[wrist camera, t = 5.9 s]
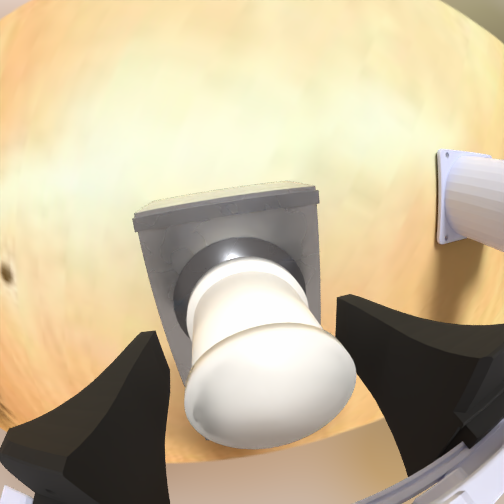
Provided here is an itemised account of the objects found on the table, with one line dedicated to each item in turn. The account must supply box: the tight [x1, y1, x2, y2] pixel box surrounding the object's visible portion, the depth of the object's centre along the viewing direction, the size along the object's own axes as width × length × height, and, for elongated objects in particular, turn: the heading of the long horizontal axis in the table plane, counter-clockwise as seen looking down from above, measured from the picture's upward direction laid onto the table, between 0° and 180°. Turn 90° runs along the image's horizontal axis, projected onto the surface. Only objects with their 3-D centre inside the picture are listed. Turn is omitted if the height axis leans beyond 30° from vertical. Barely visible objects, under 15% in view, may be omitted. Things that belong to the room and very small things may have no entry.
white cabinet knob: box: [184, 256, 356, 449], centre depth 10 cm, size 6×6×6 cm
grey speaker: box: [132, 181, 321, 440], centre depth 16 cm, size 8×16×5 cm, turn 7°
